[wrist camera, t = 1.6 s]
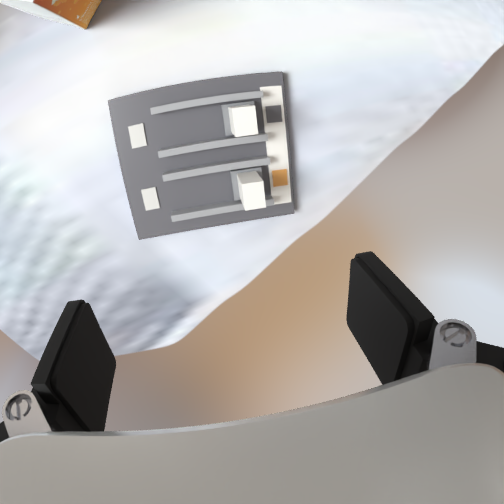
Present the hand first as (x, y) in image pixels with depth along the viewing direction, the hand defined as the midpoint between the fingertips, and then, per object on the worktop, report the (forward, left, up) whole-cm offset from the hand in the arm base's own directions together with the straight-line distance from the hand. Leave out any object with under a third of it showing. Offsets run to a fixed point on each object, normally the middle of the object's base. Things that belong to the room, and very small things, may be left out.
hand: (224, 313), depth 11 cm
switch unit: (0, -1, -26) cm, 26 cm away
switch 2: (-4, +3, -25) cm, 25 cm away
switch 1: (-4, -4, -25) cm, 25 cm away
